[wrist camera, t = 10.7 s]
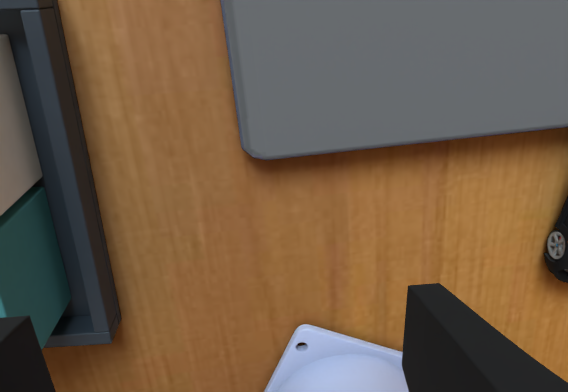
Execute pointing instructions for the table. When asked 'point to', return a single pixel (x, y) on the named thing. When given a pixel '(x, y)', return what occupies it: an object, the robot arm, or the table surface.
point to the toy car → (559, 247)
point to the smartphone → (393, 71)
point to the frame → (63, 170)
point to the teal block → (32, 265)
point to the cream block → (14, 134)
